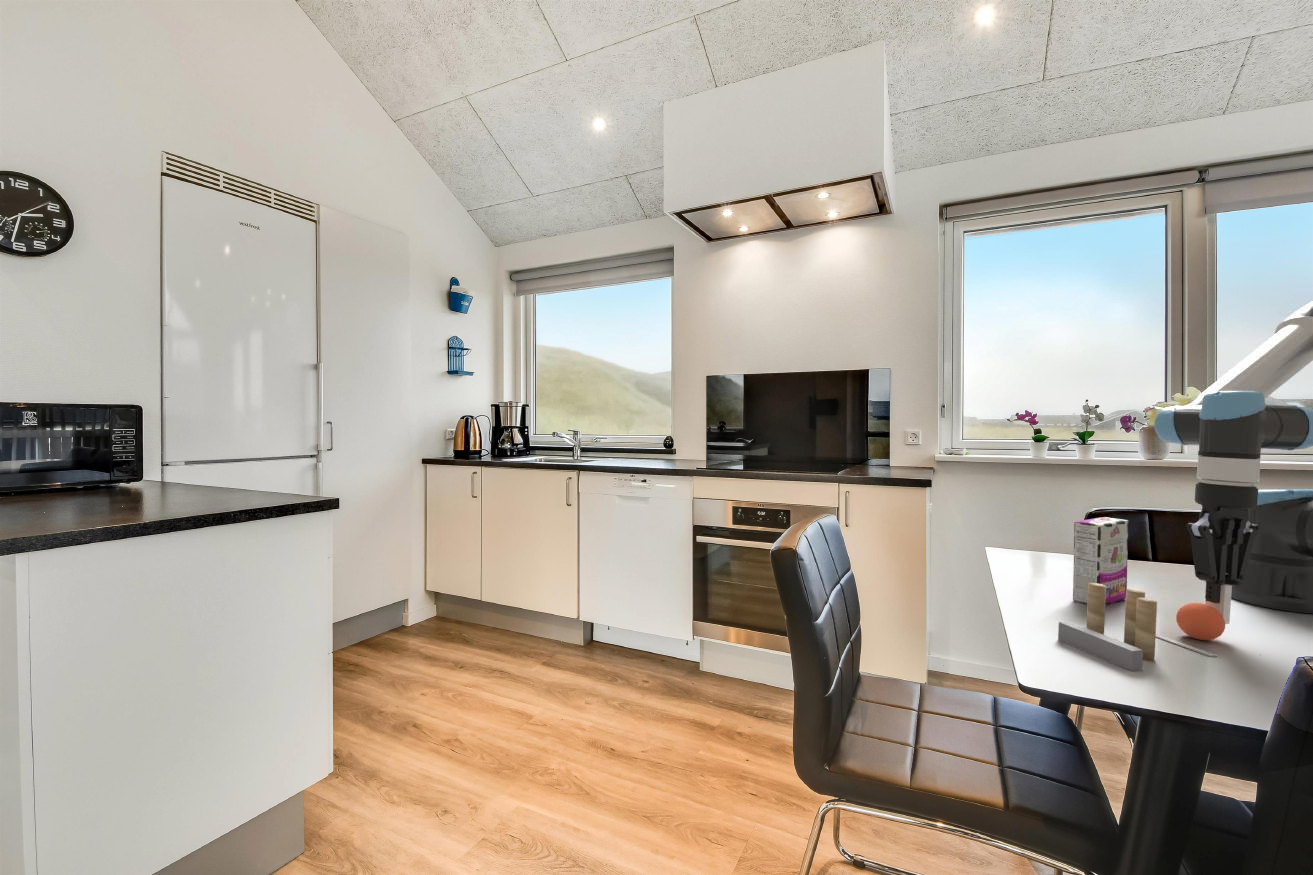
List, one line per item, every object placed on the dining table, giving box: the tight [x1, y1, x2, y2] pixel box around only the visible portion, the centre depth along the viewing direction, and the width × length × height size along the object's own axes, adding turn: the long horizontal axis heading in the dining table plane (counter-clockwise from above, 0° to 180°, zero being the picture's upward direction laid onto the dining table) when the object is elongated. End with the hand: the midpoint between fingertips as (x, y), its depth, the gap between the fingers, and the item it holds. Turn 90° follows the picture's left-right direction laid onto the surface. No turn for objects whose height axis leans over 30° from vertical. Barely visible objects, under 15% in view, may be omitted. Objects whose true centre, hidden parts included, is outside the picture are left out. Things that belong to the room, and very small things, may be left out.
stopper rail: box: [1057, 620, 1144, 672], centre depth 90 cm, size 2×12×3 cm, turn 12°
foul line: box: [1156, 633, 1217, 658], centre depth 96 cm, size 1×12×1 cm, turn 13°
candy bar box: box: [1072, 516, 1129, 606], centre depth 117 cm, size 11×5×16 cm, turn 117°
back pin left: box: [1135, 597, 1158, 662], centre depth 89 cm, size 2×2×9 cm
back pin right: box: [1085, 583, 1106, 635], centre depth 97 cm, size 2×2×9 cm
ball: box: [1175, 602, 1226, 641], centre depth 97 cm, size 6×6×6 cm
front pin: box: [1123, 588, 1146, 647], centre depth 94 cm, size 2×2×9 cm
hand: (1216, 620), depth 98 cm, fingers closed
